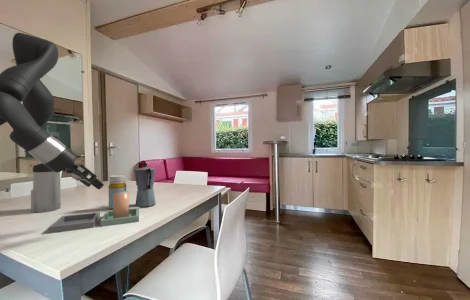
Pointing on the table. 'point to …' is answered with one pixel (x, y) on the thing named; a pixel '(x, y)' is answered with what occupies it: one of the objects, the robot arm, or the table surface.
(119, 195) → the orange cylinder
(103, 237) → the table surface
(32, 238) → the table surface
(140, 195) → the moka pot
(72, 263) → the table surface
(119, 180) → the bottle
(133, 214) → the tray
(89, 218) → the tray
